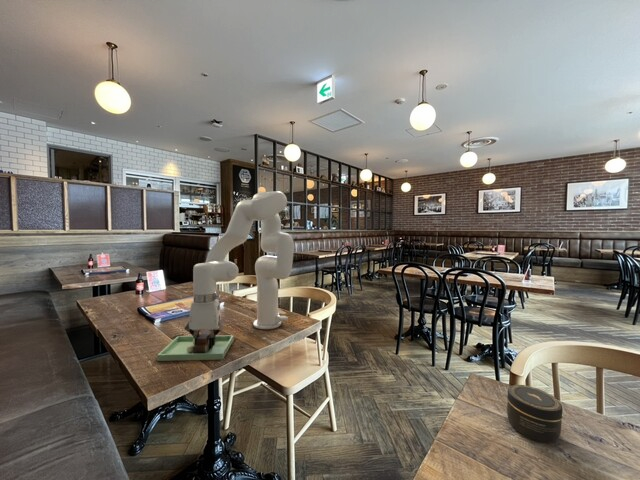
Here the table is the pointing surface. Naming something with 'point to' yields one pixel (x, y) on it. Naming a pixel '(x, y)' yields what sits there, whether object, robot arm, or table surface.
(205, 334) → the stepped brown post
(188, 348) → the crumb
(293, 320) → the table surface
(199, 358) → the tray
